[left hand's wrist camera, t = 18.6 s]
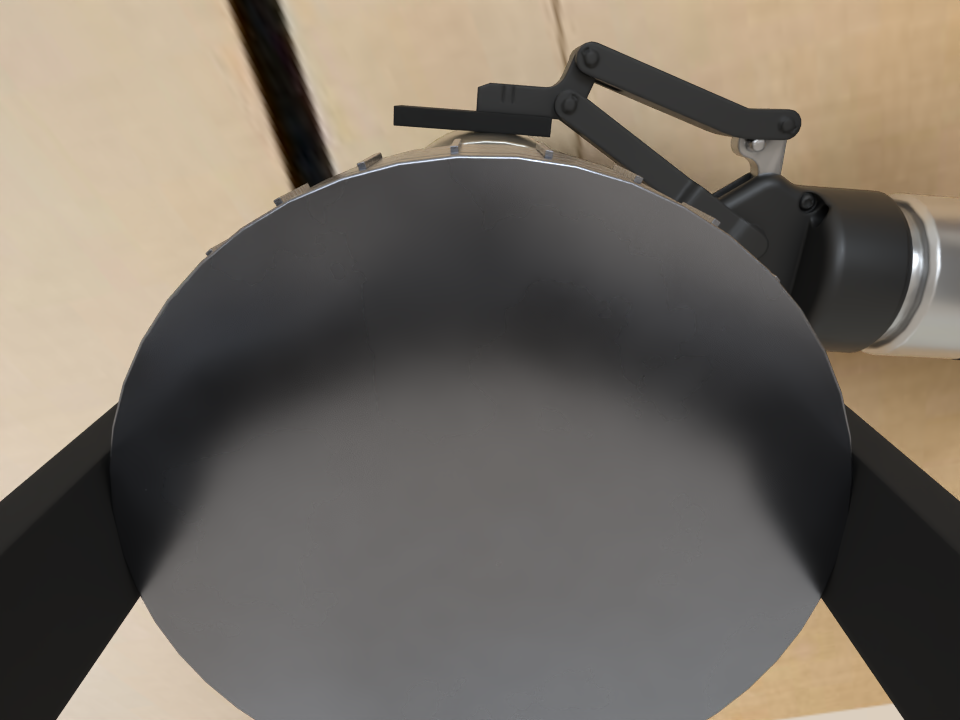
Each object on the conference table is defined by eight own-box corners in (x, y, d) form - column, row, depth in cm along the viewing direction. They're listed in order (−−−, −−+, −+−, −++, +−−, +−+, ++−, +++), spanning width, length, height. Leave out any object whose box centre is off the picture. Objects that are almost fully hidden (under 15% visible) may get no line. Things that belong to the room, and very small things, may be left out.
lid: (157, 646, 14) (102, 737, 12) (178, 60, 10) (101, 51, 8) (676, 728, 15) (707, 826, 13) (904, 224, 11) (1002, 254, 9)
